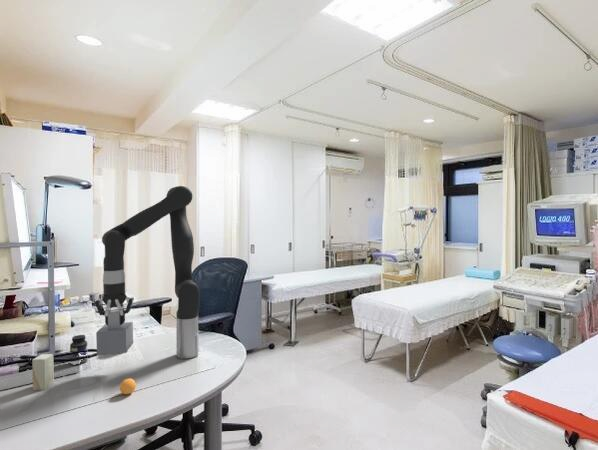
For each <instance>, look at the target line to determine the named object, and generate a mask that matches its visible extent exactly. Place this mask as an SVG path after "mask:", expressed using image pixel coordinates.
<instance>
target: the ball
mask: <svg viewBox="0 0 598 450" xmlns="http://www.w3.org/2000/svg"><path fill="white" fill-rule="evenodd" d="M136 386H137V384H136V381H135V380H134V379H133V378H126V379H123V381H121V383H120V384H119V391H120V393H121V394H123V395H130V394H131V393H133V392H134V391H135V389H136Z"/></svg>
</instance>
